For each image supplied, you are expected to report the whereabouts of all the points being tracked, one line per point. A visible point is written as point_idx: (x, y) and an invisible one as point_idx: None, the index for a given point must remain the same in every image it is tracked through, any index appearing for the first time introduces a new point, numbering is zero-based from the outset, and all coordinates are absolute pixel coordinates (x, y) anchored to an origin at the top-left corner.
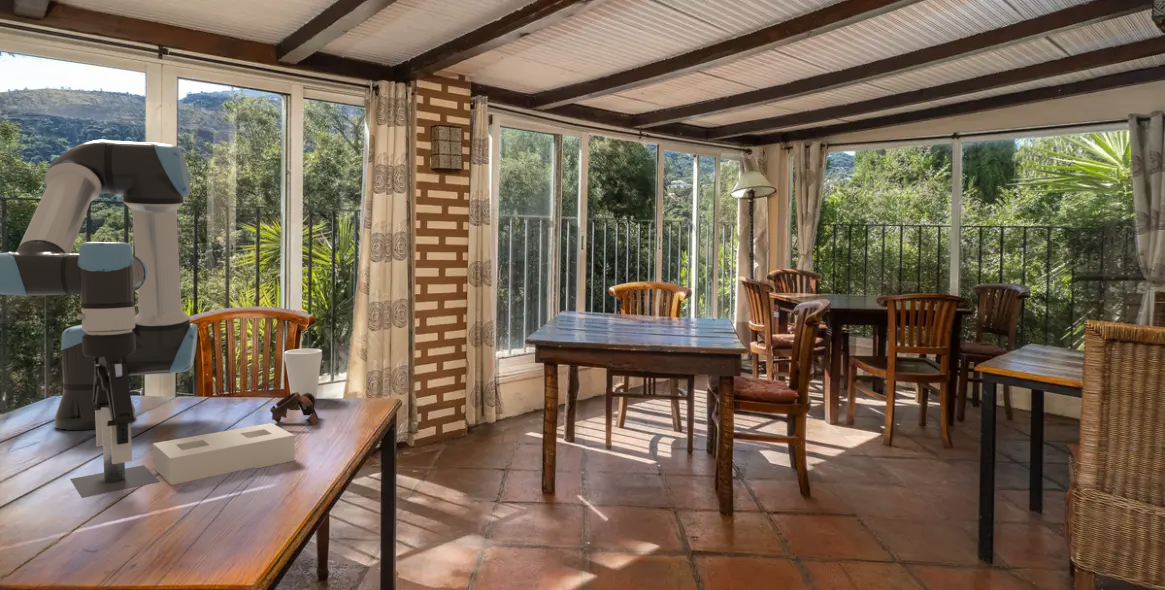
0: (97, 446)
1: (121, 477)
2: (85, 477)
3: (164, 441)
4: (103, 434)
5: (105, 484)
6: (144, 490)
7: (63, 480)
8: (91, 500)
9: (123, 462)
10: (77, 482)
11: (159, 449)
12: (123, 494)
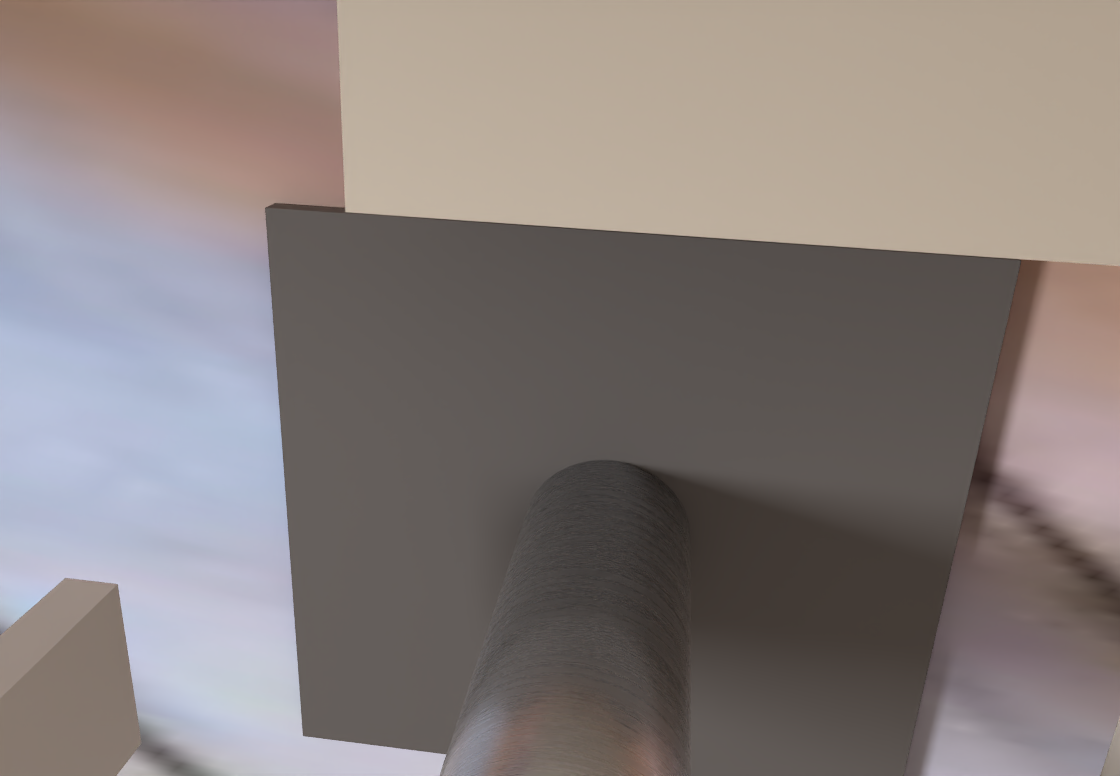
0: (139, 743)
1: (681, 523)
2: (342, 660)
3: (347, 41)
4: None
5: None
6: (1086, 420)
7: (252, 742)
8: (959, 758)
9: (657, 578)
10: (446, 730)
11: (762, 238)
12: (1031, 571)
